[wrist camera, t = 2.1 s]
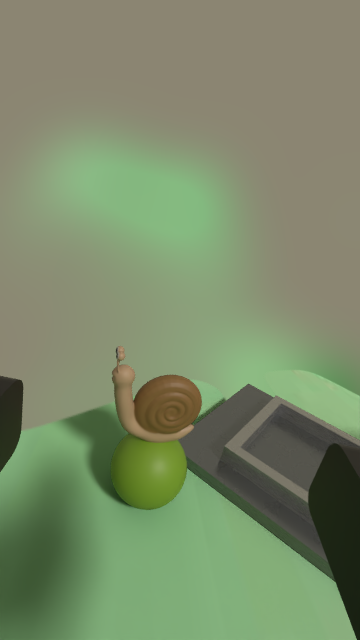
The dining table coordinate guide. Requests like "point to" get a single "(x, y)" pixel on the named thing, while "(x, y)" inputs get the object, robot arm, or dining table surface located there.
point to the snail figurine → (152, 436)
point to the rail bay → (266, 463)
